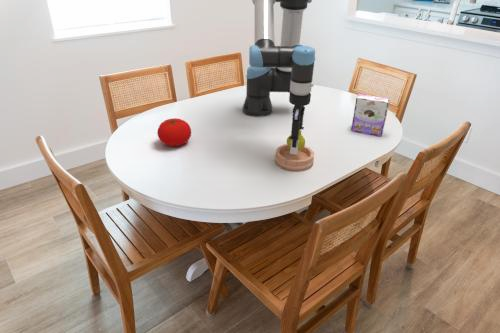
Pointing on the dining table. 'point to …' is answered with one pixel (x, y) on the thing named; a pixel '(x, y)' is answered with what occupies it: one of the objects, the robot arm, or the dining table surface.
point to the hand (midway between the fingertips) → (295, 149)
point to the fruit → (300, 143)
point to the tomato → (174, 132)
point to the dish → (294, 158)
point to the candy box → (370, 114)
